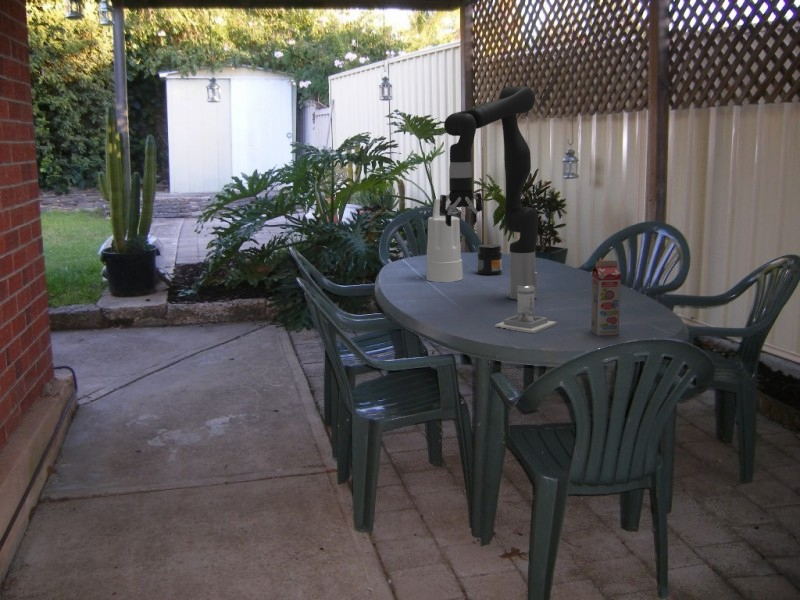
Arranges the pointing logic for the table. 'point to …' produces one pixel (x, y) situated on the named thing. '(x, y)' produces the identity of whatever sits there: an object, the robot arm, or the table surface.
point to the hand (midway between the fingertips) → (461, 225)
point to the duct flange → (526, 324)
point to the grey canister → (525, 303)
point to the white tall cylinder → (443, 248)
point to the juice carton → (605, 298)
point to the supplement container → (489, 259)
